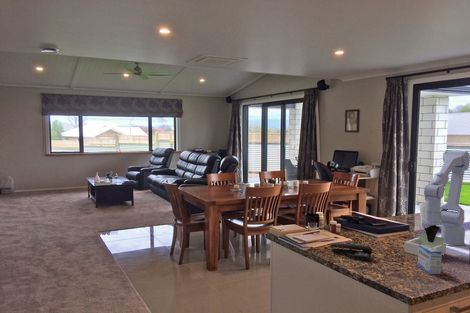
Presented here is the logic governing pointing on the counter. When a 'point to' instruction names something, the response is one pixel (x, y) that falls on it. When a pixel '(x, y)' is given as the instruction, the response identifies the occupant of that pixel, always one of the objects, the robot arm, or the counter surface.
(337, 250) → the can opener
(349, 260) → the counter surface
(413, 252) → the white open tray
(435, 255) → the medicine box
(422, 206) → the foam cup
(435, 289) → the counter surface
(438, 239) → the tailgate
